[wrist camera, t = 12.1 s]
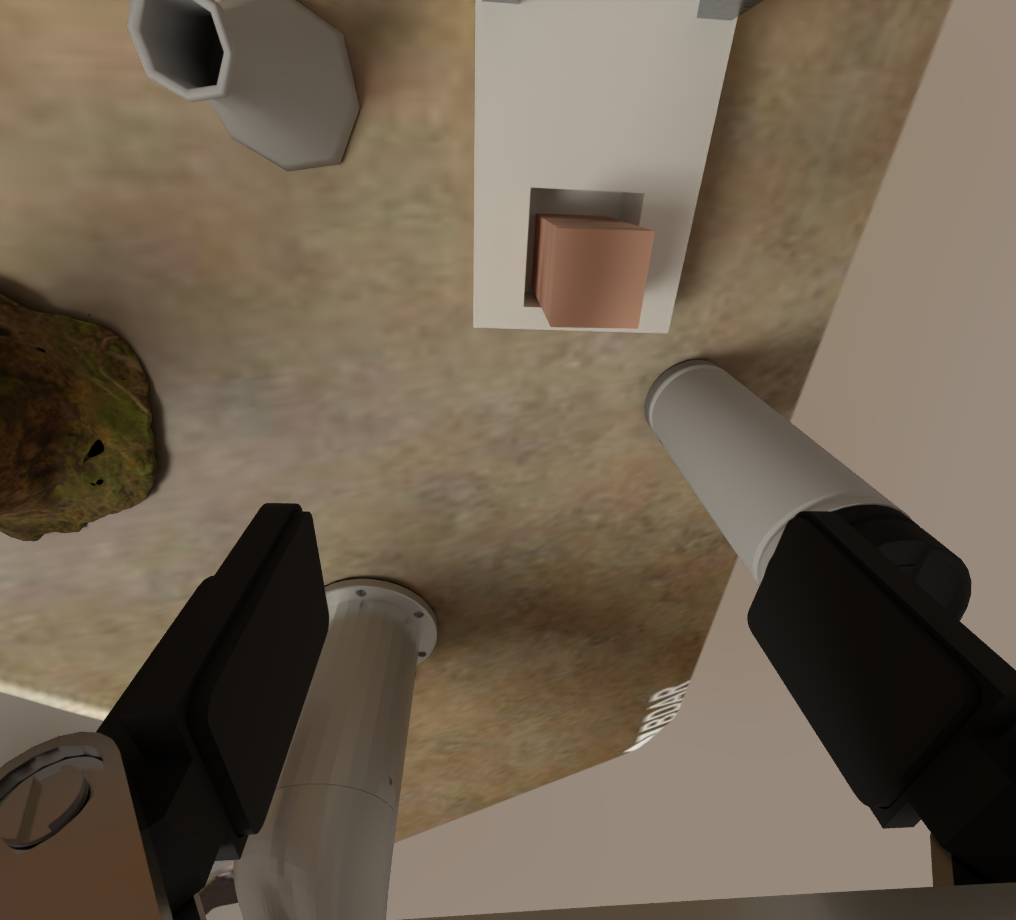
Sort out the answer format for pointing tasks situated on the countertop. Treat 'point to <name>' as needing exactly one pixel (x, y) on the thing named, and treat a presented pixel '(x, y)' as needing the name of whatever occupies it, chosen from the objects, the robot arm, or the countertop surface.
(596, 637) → the countertop surface
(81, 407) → the tree stump
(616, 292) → the peg
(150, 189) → the countertop surface
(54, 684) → the countertop surface
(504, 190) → the socket block
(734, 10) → the street lamp
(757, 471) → the travel mug
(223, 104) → the flask
